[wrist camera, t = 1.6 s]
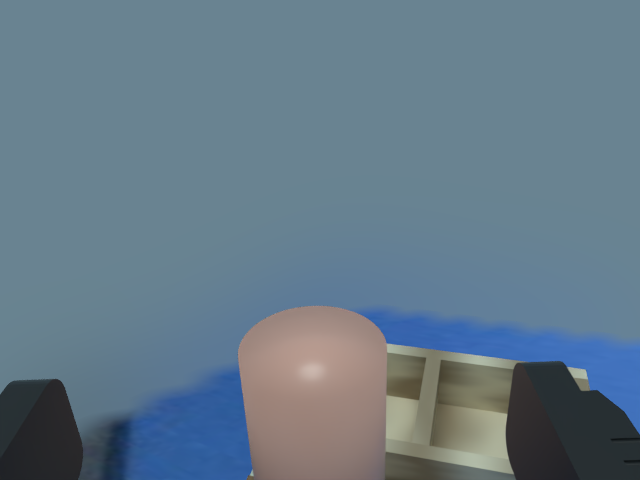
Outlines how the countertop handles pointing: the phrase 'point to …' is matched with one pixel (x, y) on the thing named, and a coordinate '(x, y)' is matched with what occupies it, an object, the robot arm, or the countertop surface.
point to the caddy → (449, 414)
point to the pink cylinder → (315, 395)
